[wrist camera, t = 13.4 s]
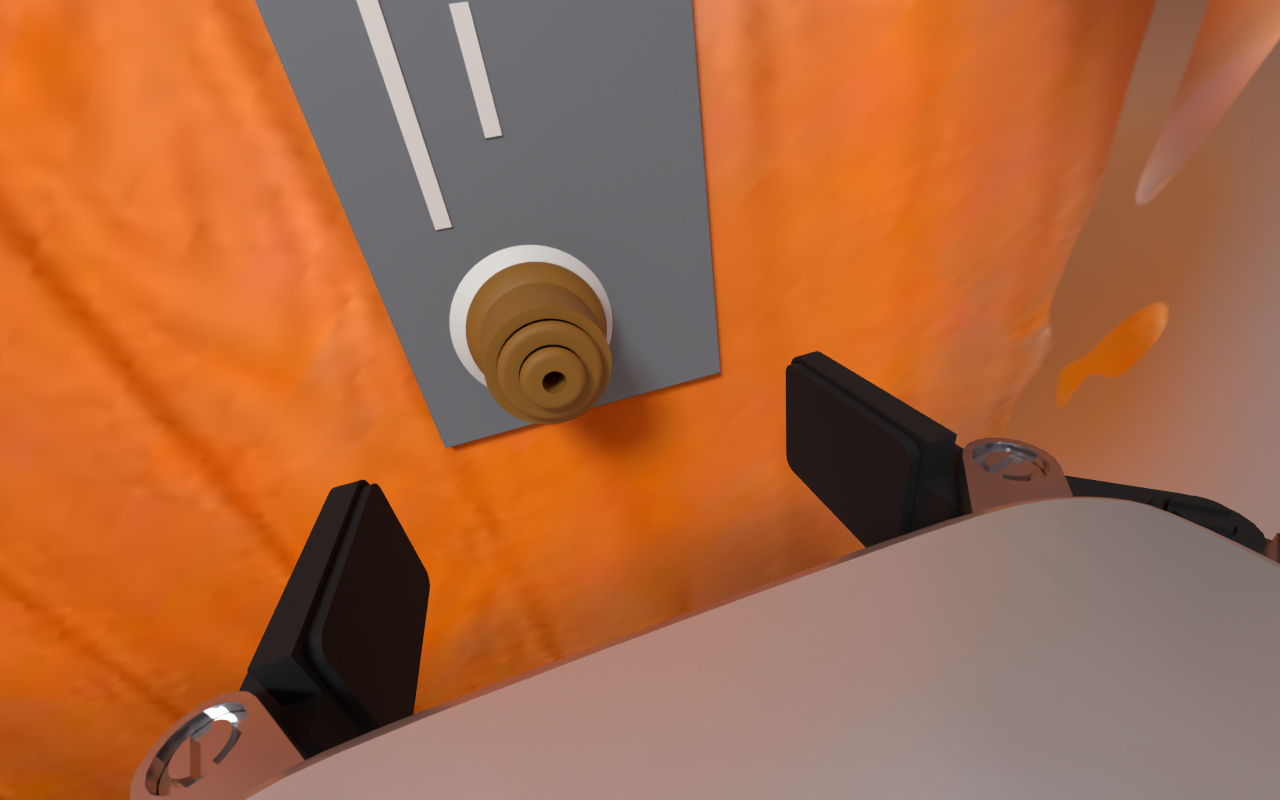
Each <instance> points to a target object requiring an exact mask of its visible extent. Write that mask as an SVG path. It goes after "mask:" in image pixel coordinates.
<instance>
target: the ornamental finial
mask: <svg viewBox="0 0 1280 800" xmlns="http://www.w3.org/2000/svg"><path fill="white" fill-rule="evenodd" d="M580 328H582V330H581V329H580ZM466 339H467V344H468V348H469V351H470V354H471V356H472V358H473V360H474V362H475V364H476V365H477V367H478V368H479V369H480V371H481V372H482V373H483V374H484V375H485V380H486V384H487V387H488V389H489V391H490V393H491V395H492V397H493V398H494V399H495V401H496V402H497V403H498V404H499V405H500V406H501V407H502V408H503V409H504V410H505V411H507V412H508V413H509V414H511V415H513V416H514V417H516V418H518V419H521V420H523V421H527V422H530V423H535V424H556V423H561V422H566V421H568V420H571V419H574V418H576V417H578V416H580V415H581V414H583V413H585V412H586V411H587V410H589V409H590V408H591V407H592V406H593V405H594V404H595V403H596V402H597V401H598V400H599V399H600V397H601V396H602V394H603V393H604V391H605V389H606V387H607V385H608V382H609V379H610V375H611V369H612V357H611V352H610V348H609V345H608V343H607V340H606V339H607V322H606V317H605V312H604V309H603V306H602V304H601V302H600V300H599V298H598V296H597V295H596V293H595V292H594V290H593V289H592V288H591V287H590V285H589V284H588V283H587V282H586V281H585V280H583V279H582V278H581V277H580V276H578V275H577V274H576V273H574V272H572V271H571V270H569V269H567V268H564V267H562V266H559V265H556V264H552V263H547V262H524V263H519V264H515V265H512V266H509V267H507V268H504V269H503V270H501V271H499V272H497V273H496V274H494V275H493V276H491V277H490V278H489V279H488V280H487V281H486V282H485V283H484V284H483V285H482V286H481V287H480V288H479V290H478V291H477V293H476V294H475V296H474V298H473V300H472V302H471V304H470V307H469V310H468V313H467V318H466ZM500 349H501V353H500Z"/></svg>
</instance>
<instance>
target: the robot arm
mask: <svg viewBox="0 0 1280 800" xmlns="http://www.w3.org/2000/svg"><path fill="white" fill-rule="evenodd" d="M956 436H957V434H955V433H954V432H952V431H950V430H949V429H947V428H945V427H944V426H942V425H940V424H939V423H937V422H935V421H934V420H932V419H930V418H929V417H927V416H925V415H924V414H922V413H920V412H919V411H917V410H916V409H914V408H912V407H911V406H909V405H907V404H906V403H904V402H902V401H901V400H899V399H897V398H896V397H894V396H892V395H891V394H889V393H887V392H886V391H884V390H882V389H881V388H879V387H877V386H876V385H874V384H872V383H871V382H869V381H867V380H866V379H864V378H862V377H861V376H859V375H857V374H856V373H854V372H852V371H851V370H849V369H847V368H846V367H844V366H842V365H841V364H839V363H837V362H836V361H834V360H832V359H831V358H829V357H827V356H826V355H824V354H822V353H821V352H818V351H816V352H812V353H809V354H805V355H801V356H798V357H795V358H794V359H793V360H792V362H791V365H789V366H787V368H786V455H787V461H788V464H789V466H790V468H791V469H792V471H793V472H794V473H795V474H796V475H797V476H798V477H799V478H800V479H801V480H802V481H803V482H804V483H805V484H806V485H807V486H808V487H809V489H810V490H811V491H812V492H813V493H814V494H815V495H816V496H817V497H818V498H819V499H820V500H821V501H822V502H823V503H824V504H825V505H826V506H827V507H828V508H829V509H830V510H831V511H832V513H833V514H834V515H835V516H836V517H837V518H838V519H839V520H840V521H841V522H842V523H843V524H844V525H845V526H846V527H847V528H848V529H849V530H850V531H851V532H852V533H853V534H854V536H855V537H856V538H857V539H858V540H859V541H860V542H861V543H862V544H863V545H864V546H865V547H866V548H865V549H862V550H859V551H856V552H853V553H851V554H848V555H845V556H842V557H839V558H837V559H834V560H831V561H828V562H826V563H823V564H820V565H817V566H814V567H812V568H809V569H806V570H803V571H800V572H798V573H795V574H792V575H789V576H786V577H784V578H781V579H778V580H775V581H773V582H770V583H767V584H764V585H761V586H759V587H756V588H753V589H750V590H748V591H745V592H742V593H739V594H737V595H734V596H731V597H728V598H726V599H723V600H720V601H717V602H715V603H712V604H709V605H706V606H704V607H701V608H698V609H695V610H693V611H690V612H687V613H684V614H682V615H679V616H676V617H674V618H671V619H668V620H665V621H663V622H660V623H657V624H654V625H652V626H649V627H646V628H643V629H641V630H638V631H635V632H633V633H630V634H627V635H624V636H622V637H619V638H616V639H613V640H611V641H608V642H605V643H603V644H600V645H597V646H595V647H592V648H589V649H586V650H584V651H581V652H578V653H576V654H573V655H570V656H568V657H565V658H562V659H559V660H557V661H554V662H551V663H549V664H546V665H543V666H541V667H538V668H535V669H533V670H530V671H527V672H524V673H522V674H519V675H516V676H514V677H511V678H508V679H506V680H503V681H500V682H498V683H495V684H492V685H489V686H487V687H484V688H481V689H479V690H476V691H473V692H471V693H468V694H465V695H463V696H460V697H458V698H455V699H453V700H450V701H447V702H445V703H442V704H440V705H437V706H435V707H432V708H429V709H427V710H424V711H422V712H419V713H417V714H414V715H413V712H414V705H415V697H416V689H417V682H418V674H419V667H420V659H421V651H422V644H423V636H424V628H425V621H426V613H427V606H428V598H429V590H430V583H429V577H428V574H427V571H426V569H425V568H424V566H423V564H422V562H421V560H420V559H419V557H418V555H417V553H416V551H415V549H414V548H413V546H412V544H411V542H410V540H409V539H408V537H407V535H406V533H405V531H404V530H403V528H402V526H401V524H400V522H399V521H398V519H397V517H396V515H395V513H394V511H393V510H392V508H391V506H390V504H389V502H388V501H387V499H386V497H385V495H384V493H383V492H382V490H381V488H380V487H379V486H378V485H377V484H375V483H374V484H371V485H369V483H368V482H366V481H365V480H360V481H356V482H352V483H349V484H345V485H342V486H338V487H335V488H332V489H331V491H330V492H329V494H328V497H327V499H326V501H325V503H324V505H323V507H322V510H321V512H320V514H319V516H318V518H317V520H316V523H315V525H314V527H313V529H312V531H311V533H310V536H309V538H308V540H307V542H306V544H305V546H304V549H303V551H302V553H301V555H300V557H299V559H298V562H297V564H296V566H295V568H294V570H293V572H292V574H291V577H290V579H289V581H288V583H287V585H286V587H285V590H284V592H283V594H282V596H281V598H280V600H279V603H278V605H277V607H276V609H275V611H274V613H273V616H272V618H271V620H270V622H269V624H268V626H267V629H266V631H265V633H264V635H263V637H262V639H261V642H260V644H259V646H258V648H257V650H256V652H255V655H254V657H253V659H252V661H251V663H250V665H249V668H248V670H247V671H248V673H247V675H246V677H245V679H244V681H243V684H242V686H241V688H240V690H239V691H234V692H230V693H226V694H223V695H219V696H217V697H215V698H213V699H211V700H209V701H207V702H205V703H203V704H201V705H200V706H198V707H197V708H195V709H194V710H192V711H191V712H189V713H188V714H186V715H185V716H184V717H182V718H181V719H180V720H179V721H178V722H177V723H175V724H174V725H173V726H172V727H171V728H170V729H169V730H168V731H166V732H165V733H164V734H163V735H162V737H161V738H160V739H159V740H158V741H157V742H156V743H155V745H154V746H153V747H152V748H151V749H150V750H149V751H148V753H147V754H146V756H145V758H144V759H143V761H142V762H141V764H140V765H139V767H138V769H137V770H136V773H135V775H134V778H133V781H132V784H131V787H130V798H131V800H1280V533H1277V534H1276V536H1275V537H1274V538H1273V540H1269V539H1266V538H1264V534H1263V533H1262V532H1261V531H1260V530H1259V529H1258V528H1257V527H1256V525H1254V523H1252V522H1251V521H1249V520H1248V519H1246V518H1245V517H1243V516H1242V515H1240V514H1239V513H1237V512H1235V511H1233V510H1231V509H1229V508H1227V507H1225V506H1223V505H1221V504H1219V503H1217V502H1214V501H1212V500H1209V499H1206V498H1202V497H1197V496H1190V495H1186V494H1180V493H1174V492H1168V491H1161V490H1154V489H1148V488H1142V487H1135V486H1129V485H1122V484H1116V483H1109V482H1103V481H1096V480H1090V479H1083V478H1077V477H1071V476H1065V475H1064V473H1063V471H1062V468H1061V466H1060V465H1059V463H1058V462H1057V460H1056V459H1055V458H1054V457H1053V456H1051V455H1050V454H1049V453H1047V452H1046V451H1044V450H1042V449H1040V448H1038V447H1036V446H1034V445H1031V444H1028V443H1025V442H1022V441H1018V440H1012V439H1007V438H984V439H977V440H975V441H973V442H970V443H968V444H967V446H966V447H965V448H964V449H963V448H961V447H959V446H958V445H956V444H955V441H956Z"/></svg>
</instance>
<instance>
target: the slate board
mask: <svg viewBox="0 0 1280 800" xmlns="http://www.w3.org/2000/svg"><path fill="white" fill-rule="evenodd" d="M255 1H256V4H257V6H258V8H259V11H260V13H261V16H262V18H263V20H264V23H265V25H266V27H267V30H268V32H269V34H270V37H271V39H272V41H273V44H274V46H275V48H276V51H277V53H278V56H279V58H280V60H281V63H282V65H283V67H284V70H285V72H286V74H287V77H288V79H289V81H290V84H291V86H292V88H293V91H294V93H295V95H296V98H297V100H298V103H299V105H300V107H301V110H302V112H303V114H304V117H305V119H306V121H307V124H308V126H309V128H310V131H311V133H312V135H313V138H314V140H315V143H316V145H317V147H318V150H319V152H320V154H321V157H322V159H323V161H324V164H325V166H326V168H327V171H328V173H329V175H330V178H331V180H332V183H333V185H334V187H335V190H336V192H337V194H338V197H339V199H340V201H341V204H342V206H343V208H344V211H345V213H346V215H347V218H348V220H349V222H350V225H351V227H352V230H353V232H354V234H355V237H356V239H357V241H358V244H359V246H360V248H361V251H362V253H363V255H364V258H365V260H366V262H367V265H368V267H369V270H370V272H371V274H372V277H373V279H374V281H375V284H376V286H377V288H378V291H379V293H380V295H381V298H382V300H383V302H384V305H385V307H386V310H387V312H388V314H389V317H390V319H391V321H392V324H393V326H394V328H395V331H396V333H397V335H398V338H399V340H400V342H401V345H402V347H403V349H404V352H405V354H406V357H407V359H408V361H409V364H410V366H411V368H412V371H413V373H414V375H415V378H416V380H417V382H418V385H419V387H420V389H421V392H422V394H423V397H424V399H425V401H426V404H427V406H428V408H429V411H430V413H431V415H432V418H433V420H434V422H435V425H436V427H437V429H438V432H439V434H440V437H441V439H442V441H443V444H444V446H445V448H448V447H451V446H455V445H458V444H462V443H466V442H469V441H473V440H477V439H480V438H484V437H487V436H491V435H495V434H498V433H502V432H506V431H509V430H513V429H516V428H520V427H524V426H527V425H531V424H535V423H530V422H527V421H523V420H521V419H518V418H516V417H514V416H513V415H511V414H509V413H508V412H507V411H505V410H504V409H503V408H502V407H501V406H500V405H499V404H498V403H497V402H496V401H495V399H494V398H493V397H492V395H491V393H490V391H489V389H488V387H487V384H486V380H485V375H484V374H483V373H482V372H481V371H480V369H479V368H478V367H477V365H476V364H475V362H474V360H473V358H472V356H471V354H470V351H469V348H468V344H467V339H466V318H467V313H468V310H469V307H470V304H471V302H472V300H473V298H474V296H475V294H476V293H477V291H478V290H479V288H480V287H481V286H482V285H483V284H484V283H485V282H486V281H487V280H488V279H489V278H490V277H491V276H493V275H494V274H496V273H497V272H499V271H501V270H503V269H504V268H507V267H509V266H512V265H515V264H519V263H524V262H547V263H552V264H556V265H559V266H562V267H564V268H567V269H569V270H571V271H572V272H574V273H576V274H577V275H578V276H580V277H581V278H582V279H583V280H585V281H586V282H587V283H588V284H589V285H590V287H591V288H592V289H593V290H594V292H595V293H596V295H597V296H598V298H599V300H600V302H601V304H602V306H603V309H604V312H605V317H606V322H607V339H606V340H607V343H608V345H609V348H610V352H611V357H612V369H611V375H610V379H609V382H608V385H607V387H606V389H605V391H604V393H603V394H602V396H601V397H600V399H599V400H598V401H597V402H596V403H595V404H594V405H593V406H592V407H591V408H593V407H596V406H600V405H603V404H607V403H611V402H614V401H618V400H622V399H625V398H629V397H632V396H636V395H640V394H643V393H647V392H651V391H654V390H658V389H661V388H665V387H669V386H672V385H676V384H680V383H683V382H687V381H690V380H694V379H698V378H701V377H705V376H709V375H712V374H716V373H719V372H720V361H719V348H718V335H717V322H716V309H715V296H714V283H713V271H712V258H711V245H710V232H709V219H708V206H707V193H706V180H705V168H704V155H703V142H702V129H701V116H700V103H699V90H698V77H697V65H696V52H695V39H694V26H693V13H692V0H255ZM580 329H581V330H582V328H580ZM500 353H501V349H500Z"/></svg>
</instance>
